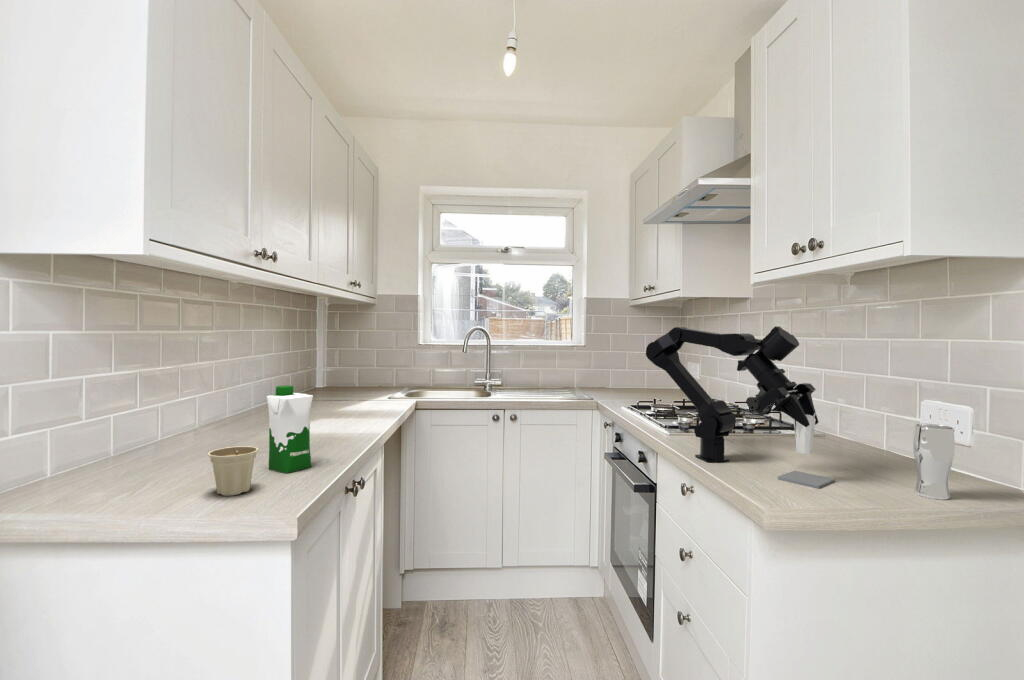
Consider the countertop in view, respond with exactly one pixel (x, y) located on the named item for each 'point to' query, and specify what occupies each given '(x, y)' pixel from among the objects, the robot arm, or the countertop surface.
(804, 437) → the milkshake
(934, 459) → the beer glass
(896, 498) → the countertop surface
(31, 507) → the countertop surface
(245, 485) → the flower pot
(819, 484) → the coaster
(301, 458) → the milk carton
